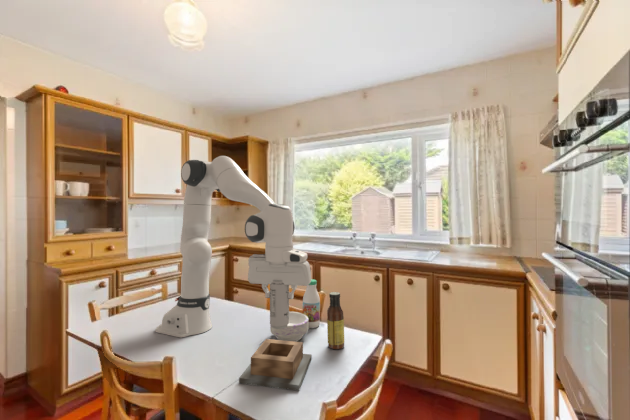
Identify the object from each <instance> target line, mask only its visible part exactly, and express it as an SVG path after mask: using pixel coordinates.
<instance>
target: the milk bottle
mask: <svg viewBox="0 0 630 420" xmlns="http://www.w3.org/2000/svg"><path fill="white" fill-rule="evenodd" d="M317 282H318V281H317V280H316V279H312V278H311V282H310V284H309V285H308V286H306V288H305V292H304V294H303V298H302V312H301V313H302V314H305V315H306V316H307V317H308V319H309V320H308V323H309V325H308V329H317V328H318V327H320V324H321V323H320V322H321V319H320V318H321V316H320V315H321V314H320V313H321V312H320V311H321V299H320V295H319V292H318V289H317Z"/></svg>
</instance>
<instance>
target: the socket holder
mask: <svg viewBox="0 0 630 420" xmlns="http://www.w3.org/2000/svg"><path fill="white" fill-rule="evenodd" d="M312 356H313V355H312V354H310V353H309V354H308V353H304V342H302V341H295V342H294V341H283V340H278V339H274V338H273V339H272V338H270V339H269V338H265V339H264V341H263V342H262V343H261V344H260V346H259V347H258V348H257V349H256V350H255V352H254V353H253V354H252V355H251V356H250V363H249V365H248V366H247V367H246V368H245V370H244V371H243V372H242V373H241V375H240V376H239V377H238V383H239V384H243V385H250V386H257V387H258V386H259V387H266V388H267V387H268V388H272V389H273V388H274V389H282V390H291V391H298V392H299V391H300V389H301V387H302V385H303V383H304V378H305V377H306V374H307V371H308V369H309V367H310V365H311V361H312V359H313V358H312Z"/></svg>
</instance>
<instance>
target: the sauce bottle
mask: <svg viewBox="0 0 630 420" xmlns="http://www.w3.org/2000/svg"><path fill="white" fill-rule="evenodd" d="M328 296H329V307H328V308H327V311H326V312H327V313H326V314H327V319H326V321H327V324H326V325H327V344H328V347H329V348H330V349H333V350H341V349H343V348H344V346H345V323H344V322H345V319H344V318H345V317H344V311H343V309H342V307H341V301H340V299H341V293H340V292H338V291H337V292H336V291H332V292H329V294H328Z"/></svg>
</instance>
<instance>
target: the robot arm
mask: <svg viewBox="0 0 630 420" xmlns="http://www.w3.org/2000/svg"><path fill="white" fill-rule="evenodd" d="M180 177H181V180H182V182H183V183H184V184H186V186H185V187H186V188H185V193H184V198H183V214H182V226H181V227H182V228H181V235H180V236H181V237H180V246H179V247H180V248H179V249H180V250H179V251H180V254H181V256H182V264H181V265H182V267H181V278H180V295H179V296H178V297H176V298H175V299H174V302H177V303H176V305H175V306H173V307H172V308H171V309H169V310H168V311H167V312H165V313H164V314H163V317H162V319H161V324H159V325H157V326H156V328H155V333H159V334H163V335H168V336H172V337H176V338H186V337H189V336H193V335H198V334H202V333H205V332H208V331H209V330H211V329H212V328H213V323H212V321H211V315H210V314H211V313H210V305H211V303H210V302H211V295H210V293H209V292H210V291H209V290H210V288H209V287H210V271H211V263H212V253H213V248H212V245H211V244H210V242H208V241H209V240H208V239H209V233H210V232H209V231H210V227H211V222H212V221H211V220H212V219H211V217H212V196H213V193H214V192H215V191H217V192H218V193H221V194H222V195H223V196H224V197H225V198H226V199H228V200H230V201H232V202H240V203H244V204H248V205H251V206H253V207H255V208H256V209H257V210H259V212H257V213H255V214H252V215H250V216H249V217H248V218H247V219H246V221H245V224H244V232H245V236H246V238H247V239H248V241H250V242H251V243H256V244H258V243H265V248H264V249H265V250H264V251H265V253H264V254H263V253H262V254H257V253H254V254H252V255H250V256H249V257H248V273H247V274H248V275H247V281H248V282H249V284H254V285H255V284H257V285H259V284H260V285H261V288H262V290H263V292H264V293H265V295H264V296H265V298H266V299H270V289H269V288H268V286H269V285H270V284H271V283H272V282H273V280H282V282H283V283H284V284H285V285H289V286H290V287H291V291H289V293H288V299H289V300H293V299H294V296H295V294H294V293H295V291H296V290H297V288H298V286H300V287H301V286H302V287H303V286H304V287H307V286H308V285H309V284H310V282H311V279H312V270H311V264H310V262H309V261H308V260H307V259H308V253H307V252H304V251H301V250H299V249H296V248H294V242H293V234H294V232H295V222H294V217H293V213H292V209H291V207H290V206H289V205H287V204H283V203H282V204H280V203H275V201H274V200H273V199H272V198H271V197H270V196H269V195H268V194H267V193H266V192H265V191H264V190H263V189H262V188H261V187H260V186H258V185H257V184H256V183H254V182H253V181H252V180H251V179H250V178H249V176H247V175H246V173H244V171H243V169H242V168H241V167H240V166H239V165H238V164H237V163H236V162H235V160H234V159H232V158H231V157H229V156H226V155H219V156H217V157H215V158H214V159H212V161H206V160H199V159H190V160H187V161H185V162H184V163H183V165H182V167H181V170H180Z"/></svg>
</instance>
